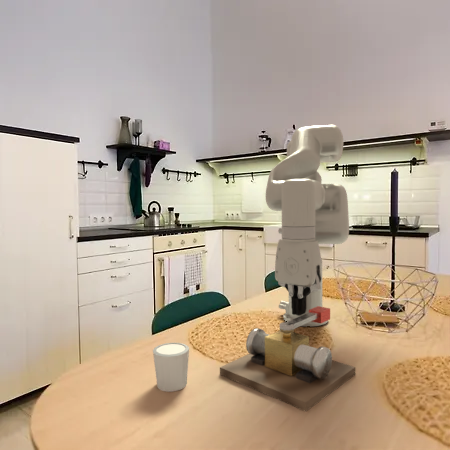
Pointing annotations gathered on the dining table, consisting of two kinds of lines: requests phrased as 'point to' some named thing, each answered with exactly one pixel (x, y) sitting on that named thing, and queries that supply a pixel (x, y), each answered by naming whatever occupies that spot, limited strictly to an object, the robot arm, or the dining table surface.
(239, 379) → the valve board
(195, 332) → the dining table surface
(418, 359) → the dining table surface
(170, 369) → the white cup
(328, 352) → the valve pipe
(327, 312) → the valve lever
